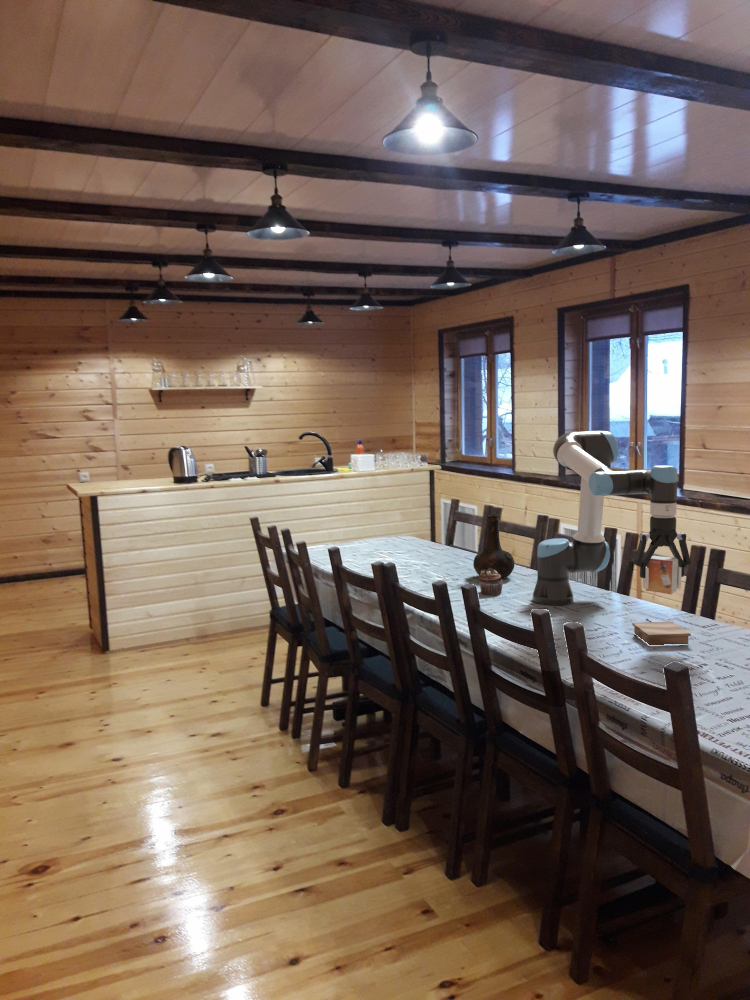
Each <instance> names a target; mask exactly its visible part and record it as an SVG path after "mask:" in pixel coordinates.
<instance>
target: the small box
mask: <svg viewBox="0 0 750 1000" xmlns="http://www.w3.org/2000/svg"><path fill="white" fill-rule="evenodd" d="M646 567H647V568H649V582H648V589H645V591H647V592H655V593H659V594H666V595H673V594H674V593H676V592H677V591H678V588H677V583H678V559H677V558H674V557H668V556H661V555H660V556H659V555H658V556H657V555H653V556H652V557H651V559H650V561H649V563H648V565H647V566H646Z"/></svg>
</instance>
